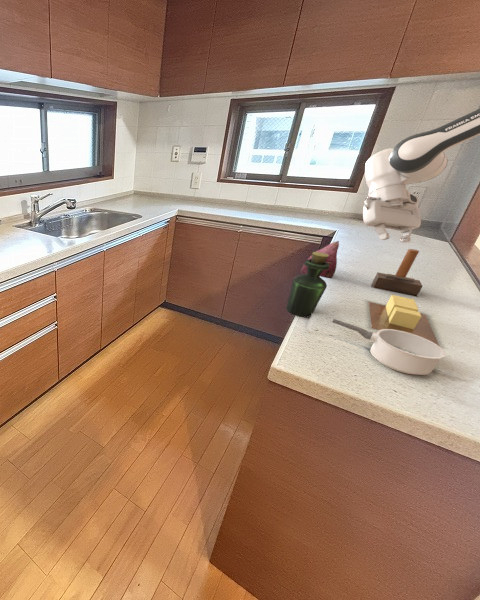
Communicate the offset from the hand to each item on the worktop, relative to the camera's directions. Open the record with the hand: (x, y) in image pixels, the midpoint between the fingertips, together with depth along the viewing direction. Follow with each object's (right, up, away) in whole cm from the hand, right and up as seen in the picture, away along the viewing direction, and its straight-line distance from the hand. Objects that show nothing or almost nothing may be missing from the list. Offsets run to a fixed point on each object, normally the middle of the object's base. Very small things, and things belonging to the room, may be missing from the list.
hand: (395, 240), depth 102 cm
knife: (+7, -16, +8) cm, 19 cm away
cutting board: (-11, -26, -12) cm, 31 cm away
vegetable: (-9, -9, +21) cm, 25 cm away
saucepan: (-29, -32, -25) cm, 50 cm away
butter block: (-8, -23, -9) cm, 26 cm away
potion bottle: (-35, -23, -6) cm, 42 cm away
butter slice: (-12, -25, -14) cm, 32 cm away
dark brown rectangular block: (+7, -16, +8) cm, 19 cm away
